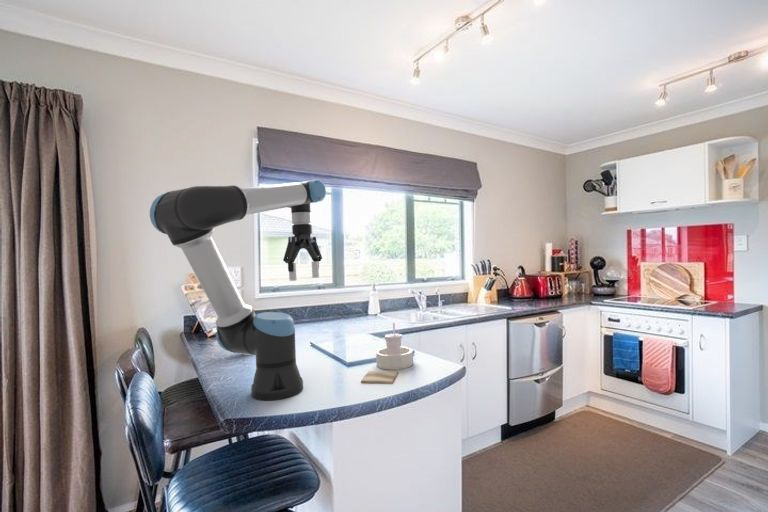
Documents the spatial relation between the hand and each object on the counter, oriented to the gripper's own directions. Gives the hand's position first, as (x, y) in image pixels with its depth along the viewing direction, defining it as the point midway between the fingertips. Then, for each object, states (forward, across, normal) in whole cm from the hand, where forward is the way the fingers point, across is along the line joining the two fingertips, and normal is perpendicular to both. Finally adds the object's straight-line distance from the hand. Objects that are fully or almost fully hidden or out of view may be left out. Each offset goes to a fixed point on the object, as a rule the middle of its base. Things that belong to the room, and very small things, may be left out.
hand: (304, 279), depth 147 cm
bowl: (+32, -6, +34) cm, 47 cm away
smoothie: (+31, -6, +34) cm, 46 cm away
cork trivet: (+32, +9, +36) cm, 49 cm away
